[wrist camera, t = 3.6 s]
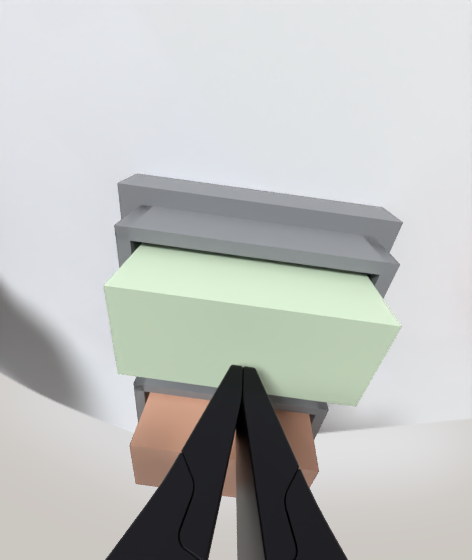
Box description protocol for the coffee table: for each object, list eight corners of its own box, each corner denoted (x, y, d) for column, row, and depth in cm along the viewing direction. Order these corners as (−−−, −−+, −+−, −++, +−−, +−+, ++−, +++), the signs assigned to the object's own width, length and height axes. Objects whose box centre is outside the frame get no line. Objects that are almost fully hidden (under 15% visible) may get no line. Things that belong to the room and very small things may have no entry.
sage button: (150, 314, 15) (117, 373, 11) (145, 238, 12) (103, 285, 9) (333, 339, 15) (356, 406, 11) (362, 268, 12) (401, 326, 9)
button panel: (151, 381, 25) (126, 444, 20) (137, 173, 15) (83, 199, 11) (304, 402, 25) (315, 469, 20) (383, 207, 15) (437, 248, 11)
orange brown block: (156, 420, 20) (135, 483, 17) (154, 381, 18) (129, 445, 14) (291, 439, 20) (299, 506, 17) (307, 402, 18) (318, 471, 14)
